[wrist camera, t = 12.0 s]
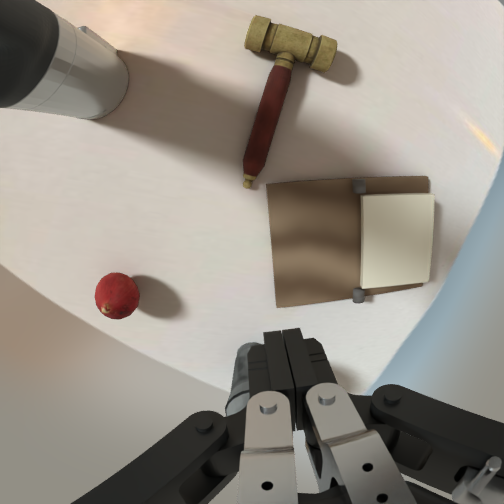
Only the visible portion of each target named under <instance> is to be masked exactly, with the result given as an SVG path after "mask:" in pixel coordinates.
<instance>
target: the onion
mask: <svg viewBox="0 0 504 504" xmlns="http://www.w3.org/2000/svg"><path fill="white" fill-rule="evenodd" d="M139 297H140V295H139V291H138V288H137V286H136V284H135V283H134V281H133V280H132V279H131V278H130V277H128V276H127V275H125V274H122V273H110V274H108V275H106V276H104V277H103V278H102V279H101V280H100V282H99V283H98V285H97V287H96V292H95V300H96V305H97V307H98V309H99V310H100V312H101V313H102V314H104V315H105V316H107V317H109V318H111V319H122V318H125V317H127V316H130V315H131V314H132V313H133V312H134V310H135V309H136V308H137V306H138V302H139Z"/></svg>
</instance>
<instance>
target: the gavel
mask: <svg viewBox="0 0 504 504" xmlns="http://www.w3.org/2000/svg"><path fill="white" fill-rule="evenodd" d="M244 46H245V49H249V50H252V51H256V52H261V50H262V49H263V50H267V51H270V53H273V54H276V55H277V57H276V59H277V60H276V61H275V64H274V66H273V68H272V70H271V72H270V74H269V77H268V80H267V83H266V86H265V89H264V92H263V96H262V99H261V102H260V105H259V109H258V112H257V115H256V118H255V122H254V125H253V128H252V132H251V135H250V138H249V142H248V145H247V148H246V152H245V155H244V159H243V168H244V174H243V177H244V178H245V181H244V182H243V187H245V188H250V187H251V185H252V183H251V182H252V181H253V180H255V179H256V177H257V175H258V174H259V173H260V171H261V170H262V168H263V167H264V165H265V162H266V158H267V155H268V152H269V148H270V145H271V142H272V139H273V135H274V132H275V129H276V125H277V122H278V119H279V116H280V112H281V109H282V106H283V103H284V100H285V96H286V93H287V90H288V87H289V83H290V80H291V72H292V68H293V64H294V62H295V60H296V61H299V62H306V63H309V64H310V68H312V69H315V70H318V71H321V72H323V73H325V72H326V71H327V70H328V69H329V68H330V66H331V64H332V62H333V59H334V57H335V54H336V50H337V41H336V40H334V39H331V38H329V37H326V36H323V35H321V36H320V37H319V38H318V37H316V36H313V35H312V34H311V33H308V32H305V31H302V30H298V29H295V28H292V27H289V26H285V25H282V24H279V25H277V24H274V23H271V19H269V18H265V17H261V16H257V15H256V16H254V17H253V19H252V21H251V24H250V26H249V29H248V32H247V36H246V40H245V45H244Z"/></svg>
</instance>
